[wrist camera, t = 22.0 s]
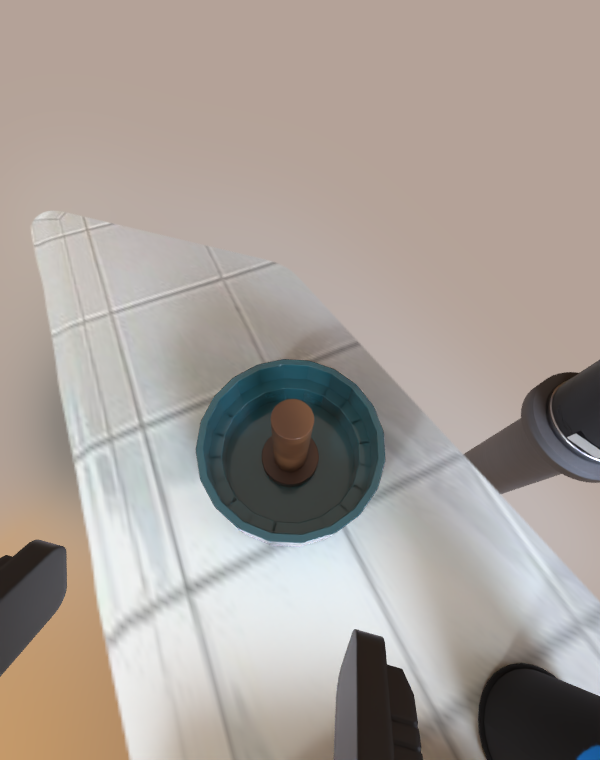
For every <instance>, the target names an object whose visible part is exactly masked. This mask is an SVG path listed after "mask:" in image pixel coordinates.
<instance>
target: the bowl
mask: <svg viewBox="0 0 600 760" xmlns="http://www.w3.org/2000/svg"><path fill="white" fill-rule="evenodd" d="M287 399H298V400H301V401H303V402H305V403H306V404H307V405H308V406H309V407H310V408H311V410H312V412H313V414H314V425H313V430H312V434H311V438H312V439H313V441H314V442H315V444H316V446H317V449H318V454H319V460H318V464H317V468H316V470H315V472H314V474H313V476H312V477H311V478H310V479H309V480H308V481H307V482H305V483H304V484H302V485H299V486H295V487H285V486H281V485H278V484H276V483H275V482H273V481H272V480H271V479H270V478H269V477H268V476H267V474H266V472H265V470H264V467H263V463H262V451H263V447H264V445H265V443H266V441H267V440H268V439H269V438H270V437H271V436H272V430H271V413H272V411H273V409H274V408H275V406H276V405H277V404H279V403H280V402H282V401H284V400H287ZM196 456H197V462H198V469H199V475H200V479H201V482H202V484H203V486H204V488H205V490H206V492H207V493H208V495H209V497H210V499H211V501H212V503H213V505H214V506H215V508H216V509H217V510H219V511H220V512H221V513H222V514H223V515H224V516H225V517H226V518H227V519H228V520H230V521H231V522H232V523H233V524H234V525H235V526H236V527H237V528H238V529H239V530H241V531H242V532H243V533H244V534H246V535H248V536H250V537H252V538H255V539H257V540H260V541H262V542H264V543H267V544H269V545H273V546H293V547H300V546H304V545H308V544H311V543H314V542H318V541H321V540H324V539H327V538H329V537H330V536H332V535H333V534H335V533H336V532H337V531H339V530H340V529H342V528H343V527H344V526H346V525H347V524H348V523H350V522H351V521H352V520H354V519H355V518H357V517H358V516H359V515H360V514H361V513H362V511H363V510H364V509H365V507H366V506H367V504H368V503H369V501H370V500H371V498H372V497H373V495H374V494H375V492H376V491H377V489H378V486H379V483H380V479H381V475H382V471H383V468H384V464H385V445H384V432H383V429H382V426H381V424H380V421H379V419H378V416H377V413H376V411H375V408H374V406H373V405H372V403H371V402H370V401H369V400H368V398H367V397H366V396H365V395H364V393H363V392H362V391H361V390H360V388H359V387H358V386H357V385H356V384H355V383H353V382H352V381H351V380H349V379H348V378H346V377H345V376H343V375H342V374H341V373H339V372H338V371H336V370H334V369H332V368H329V367H326V366H323V365H321V364H318V363H315V362H312V361H307V360H289V359H282V360H277V361H272V362H268V363H263V364H259V365H256V366H254V367H252V368H250V369H248V370H247V371H245V372H243V373H241V374H239V375H237V376H235V377H234V378H232V379H231V380H230V381H229V382H228V383H227V384H226V385H225V386H224V387H223V388H222V389H221V390H220V391H219V392H218V393H217V394H216V395H215V396H214V398H213V400H212V401H211V403H210V405H209V407H208V409H207V411H206V413H205V415H204V416H203V418H202V420H201V423H200V428H199V434H198V440H197V445H196Z"/></svg>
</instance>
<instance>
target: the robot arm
mask: <svg viewBox="0 0 600 760" xmlns="http://www.w3.org/2000/svg"><path fill="white" fill-rule="evenodd" d="M546 416H547V420H548V423H549V425H550V428H551V430H552V431H553V433H554V434H555V436H556V437H557V439H558V440H559V441H560V442H561V443H562V444H563V445H564V446H565V447H566V448H567V449H568V450H569V451H571V452H572V453H574V454H575V455H577V456H578V457H580V458H582V459H584V460H586V461H589V462H592V463H595V464H600V360H599V361H597V362H596V363H594V364H593V365H591V366H590V367H588V368H587V369H585V370H583V371H582V372H580V373H579V374H577V375H575V376H574V377H572V378H571V379H569V380H567V381H565V382H563V383H562V384H560V385H558V386H557V387H556V388H554V389H553V390H552V391H551V393H550V394H549V396H548V398H547V401H546ZM66 588H67V568H66V549H65V547H63V546H60V545H56V544H52V543H48V542H45V541H42V540H34V541H32V542H30V543H29V544H27V545H26V546H25V547H24V548H23V549H22V550H20V551H19V552H18V553H17V554H16V555H14V556H13V557H12V556H8V555H5V556H3V557H1V558H0V676H1V675H2V674H3V673H4V672H5V671H6V669H7V668H8V667H9V666H10V665H11V663H12V662H13V661H14V660H15V659H16V658H17V657H18V656H19V654H20V653H21V652H22V651H23V650H24V648H25V647H26V646H27V645H28V644H29V642H31V640H32V639H33V638H34V637H35V635H37V633H38V632H39V631H40V630H41V629H42V628H43V627H44V625H45V624H46V623H47V622H48V621H49V620H50V618H51V617H52V616H53V615H54V614H55V612H56V611H57V610H58V608H59V606H60V605H61V603H62V601H63V599H64V596H65V593H66ZM417 725H418V721H417V713H416V706H415V699H414V694H413V692H412V690H411V687H410V685H409V683H408V681H407V679H406V676H405V674H404V672H403V670H402V669H400V668H397V667H393V666H390V665H387V662H386V650H385V642H384V638H383V637H381V636H377V635H374V634H370V633H367V632H363V631H359V630H356V629H354V630H353V633H352V635H351V638H350V641H349V644H348V647H347V651H346V654H345V657H344V660H343V663H342V666H341V669H340V673H339V678H338V685H337V695H336V715H335V739H334V760H423V757H422V754H421V742H420V735H419V729H418V727H417Z"/></svg>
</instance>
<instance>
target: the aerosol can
mask: <svg viewBox="0 0 600 760" xmlns="http://www.w3.org/2000/svg"><path fill="white" fill-rule="evenodd" d="M478 721H479V733H480V737H481V742H482V746H483V749H484V752H485V755H486V757H487V760H600V696H598V695H595V694H593V693H590V692H588V691H586V690H583V689H581V688H578V687H576V686H573V685H571V684H568V683H566V682H564V681H561V680H559V679H557V678H556V677H555V676H554V675H552V674H551V673H549V672H547V671H546V670H544V669H542V668H539V667H537V666H534V665H530V664H522V663H520V664H512V665H509V666H506V667H504V668H501V669H500V670H499V671H497V672H496V673H495V674H494V675H493V676H492V677H491V678H490V680H489V681H488V682H487V684H486V686H485V688H484V690H483V693H482V696H481V700H480V704H479V716H478Z"/></svg>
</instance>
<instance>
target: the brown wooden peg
mask: <svg viewBox="0 0 600 760" xmlns="http://www.w3.org/2000/svg"><path fill="white" fill-rule="evenodd" d="M313 425H314V414H313V412H312V410H311V408H310V407H309V406H308V405H307V404H306V403H305V402H303V401H301V400H298V399H287V400H284V401H282V402H280V403H279V404H277V405H276V406H275V408H274V409H273V411H272V413H271V430H272V436H271V437H270V438H269V439H268V440H267V441H266V443H265V445H264V447H263V451H262V463H263V467H264V470H265V472H266V474H267V476H268V477H269V478H270V479H271V480H272V481H273V482H275V483H276V484H278V485H281V486H285V487H295V486H299V485H302V484H304V483H305V482H307V481H308V480H309V479H310V478H311V477H312V476H313V474H314V472H315V470H316V468H317V464H318V460H319V454H318V449H317V446H316V444H315V442H314V441H313V439H312V438H311V434H312V430H313Z"/></svg>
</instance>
